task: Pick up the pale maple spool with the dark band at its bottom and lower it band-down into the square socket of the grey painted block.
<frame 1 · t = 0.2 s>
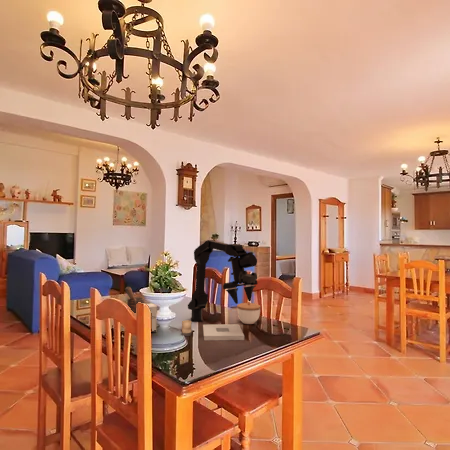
hand: (243, 302, 154), 15 cm above the table, tool pointing down, fingers open, 9 cm apart
lidded bowl: (248, 322, 176), on the table
maple spool: (186, 334, 152), on the table
mortar and pestle: (134, 324, 167), on the table
supplement box: (146, 331, 155), on the table
socket block: (222, 334, 154), on the table
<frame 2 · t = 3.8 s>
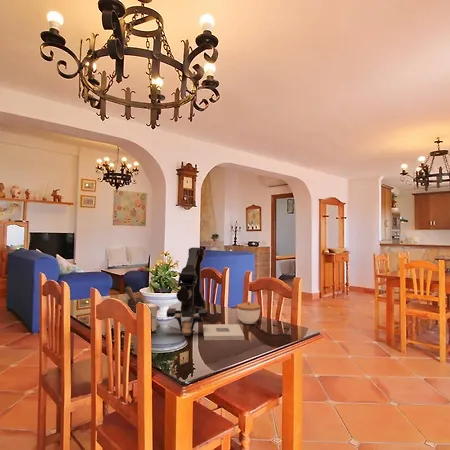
hand: (186, 331, 152), 2 cm above the table, tool pointing down, fingers closed on maple spool, 4 cm apart
maple spool: (186, 334, 152), on the table, touching gripper
everything else where it was.
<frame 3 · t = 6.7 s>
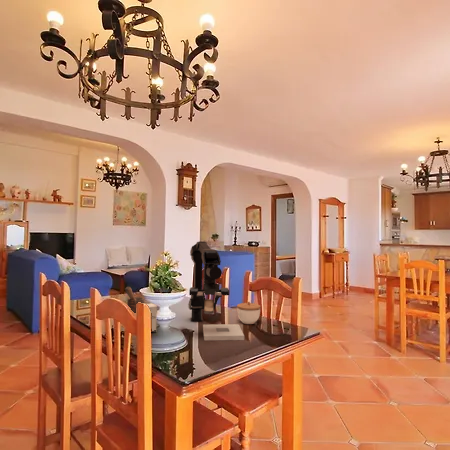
hand: (208, 309, 154), 12 cm above the table, tool pointing down, fingers closed on maple spool, 4 cm apart
maple spool: (208, 312, 154), point 10 cm above the table, touching gripper
everything else where it was.
when the fingers open (3 cm above the table, at t = 10.0 s): maple spool drops 1 cm, resting in socket block.
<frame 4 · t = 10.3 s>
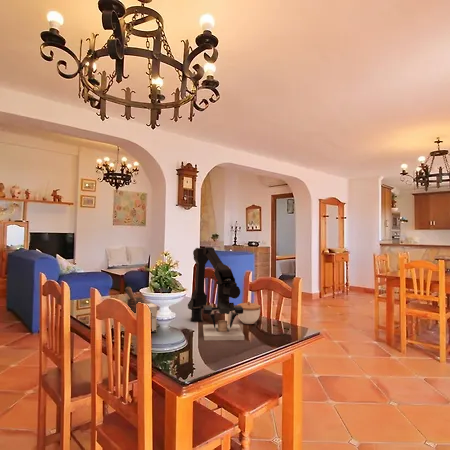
hand: (222, 327, 154), 3 cm above the table, tool pointing down, fingers open, 7 cm apart
maple spool: (222, 334, 154), resting in socket block
everything else where it was.
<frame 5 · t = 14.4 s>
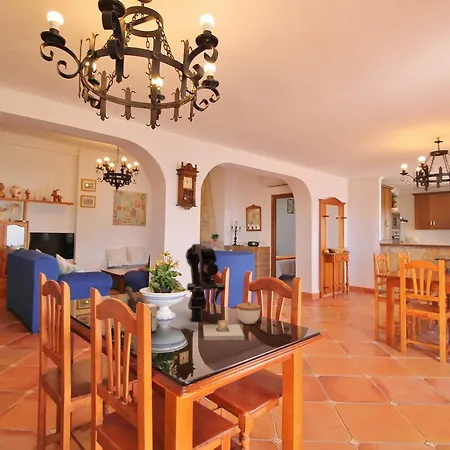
hand: (205, 304, 164), 12 cm above the table, tool pointing down, fingers open, 9 cm apart
nothing on the table moved.
at the end: maple spool 0.0 cm off-centre on the socket block, point 0.0 cm above the socket block's base; maple spool tilted 0°; the gripper is holding nothing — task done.
